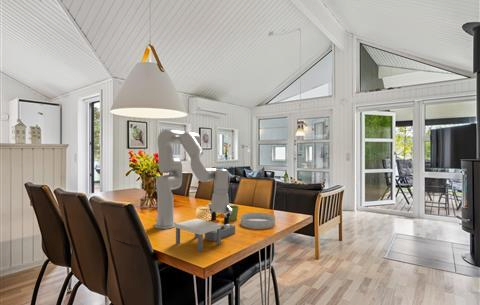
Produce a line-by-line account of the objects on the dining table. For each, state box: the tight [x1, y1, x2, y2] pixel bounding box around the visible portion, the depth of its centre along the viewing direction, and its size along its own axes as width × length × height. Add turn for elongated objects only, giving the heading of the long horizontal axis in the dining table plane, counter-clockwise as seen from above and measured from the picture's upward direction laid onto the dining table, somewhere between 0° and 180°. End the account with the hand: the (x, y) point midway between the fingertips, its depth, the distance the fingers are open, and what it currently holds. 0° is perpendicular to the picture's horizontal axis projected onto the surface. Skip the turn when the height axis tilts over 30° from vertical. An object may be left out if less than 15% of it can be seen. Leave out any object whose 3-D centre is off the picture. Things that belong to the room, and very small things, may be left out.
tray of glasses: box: [204, 223, 236, 242], centre depth 147 cm, size 6×18×5 cm, turn 143°
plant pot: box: [229, 205, 240, 221], centre depth 183 cm, size 9×9×9 cm
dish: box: [240, 212, 276, 230], centre depth 172 cm, size 22×22×5 cm
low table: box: [175, 218, 222, 253], centre depth 134 cm, size 18×14×10 cm
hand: (219, 222), depth 147 cm, fingers open, 9 cm apart
